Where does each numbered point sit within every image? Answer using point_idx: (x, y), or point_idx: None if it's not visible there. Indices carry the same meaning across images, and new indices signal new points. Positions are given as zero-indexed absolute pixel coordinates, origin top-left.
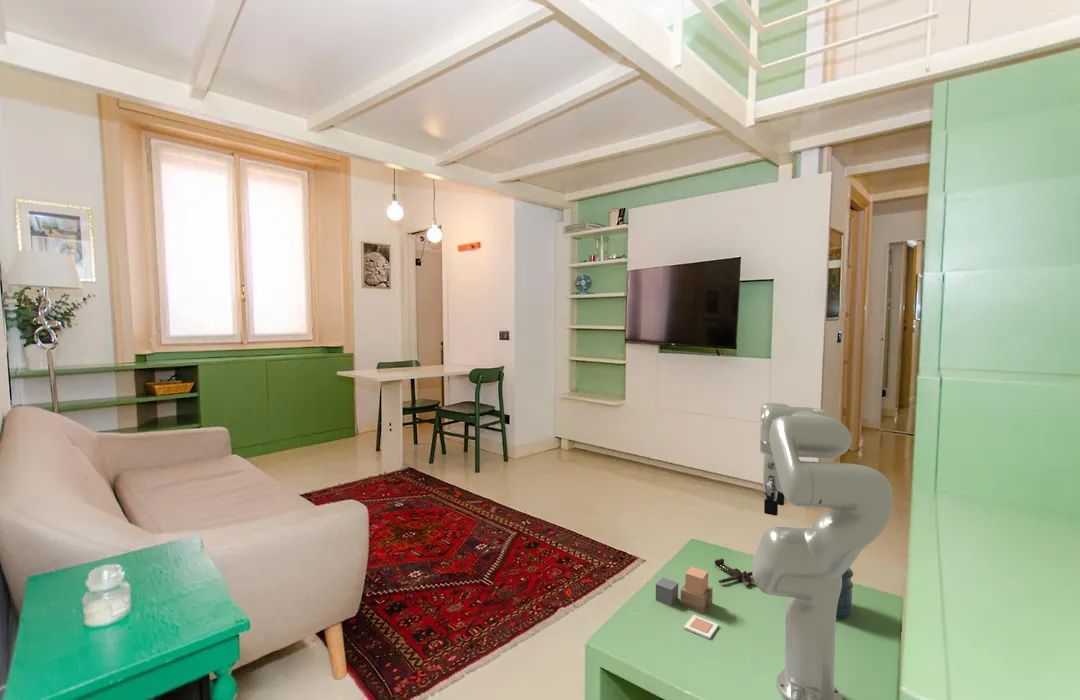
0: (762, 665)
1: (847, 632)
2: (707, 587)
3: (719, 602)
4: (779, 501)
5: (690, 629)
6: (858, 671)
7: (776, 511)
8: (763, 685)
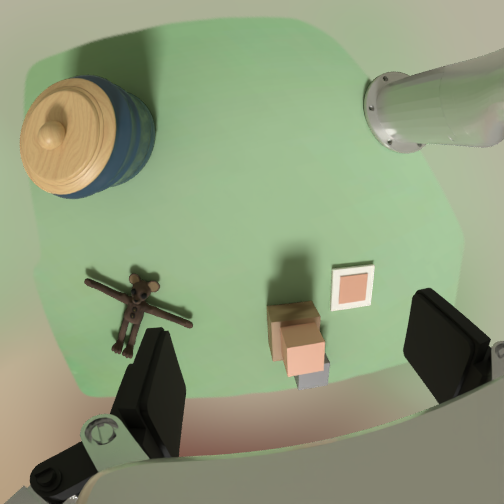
0: (384, 178)
1: (181, 82)
2: (284, 328)
3: (254, 298)
4: (170, 366)
5: (371, 295)
6: (297, 52)
7: (441, 303)
8: (419, 167)
